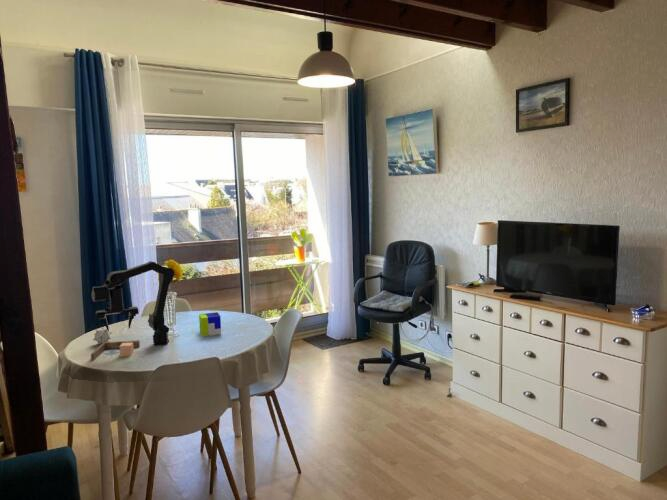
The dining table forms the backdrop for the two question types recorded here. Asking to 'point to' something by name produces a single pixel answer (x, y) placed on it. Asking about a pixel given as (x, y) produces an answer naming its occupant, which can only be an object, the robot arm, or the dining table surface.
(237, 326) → the dining table surface
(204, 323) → the puzzle toy
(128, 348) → the cube
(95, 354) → the arena
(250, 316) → the dining table surface
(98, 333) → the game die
